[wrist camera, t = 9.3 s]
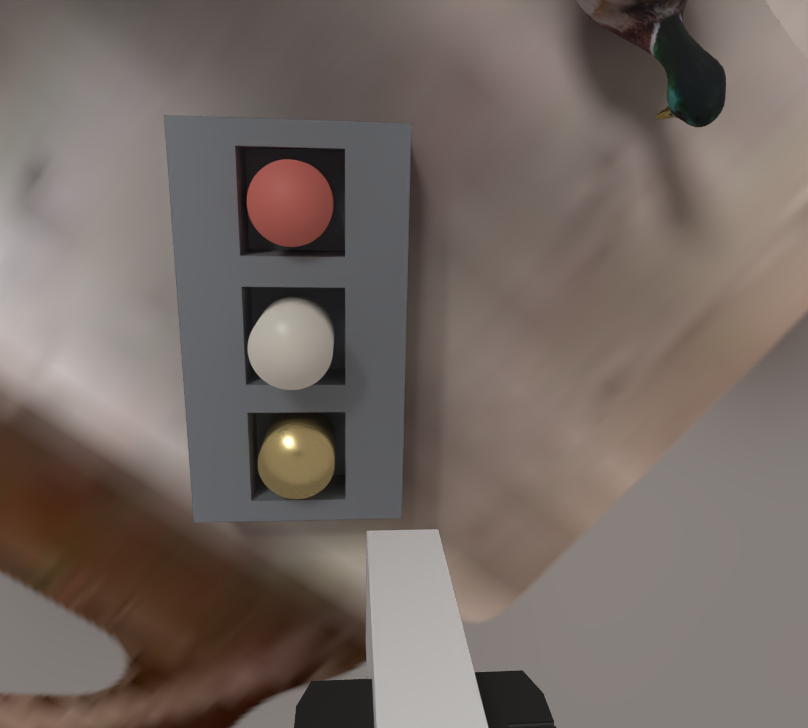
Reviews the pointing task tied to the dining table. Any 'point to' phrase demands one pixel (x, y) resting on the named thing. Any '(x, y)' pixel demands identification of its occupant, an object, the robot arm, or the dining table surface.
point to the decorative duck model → (668, 54)
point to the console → (281, 277)
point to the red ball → (290, 202)
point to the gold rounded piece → (297, 454)
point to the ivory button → (292, 343)
